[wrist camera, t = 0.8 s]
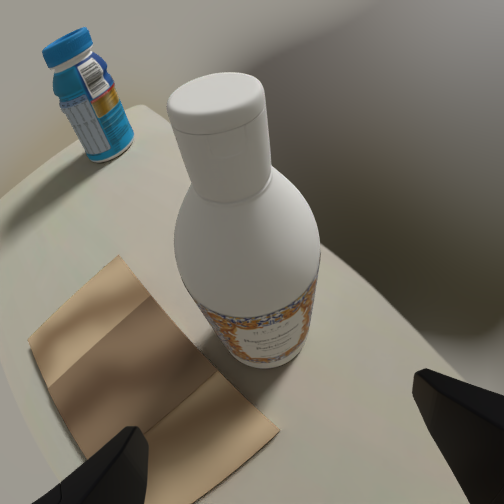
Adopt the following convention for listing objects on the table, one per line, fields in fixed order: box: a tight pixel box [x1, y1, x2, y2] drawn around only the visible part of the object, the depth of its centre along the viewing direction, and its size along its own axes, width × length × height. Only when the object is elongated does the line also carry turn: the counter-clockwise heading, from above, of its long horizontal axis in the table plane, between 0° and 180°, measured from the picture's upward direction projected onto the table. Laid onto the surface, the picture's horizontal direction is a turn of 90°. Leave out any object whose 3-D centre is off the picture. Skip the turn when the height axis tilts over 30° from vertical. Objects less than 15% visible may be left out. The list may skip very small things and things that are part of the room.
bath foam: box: [167, 72, 320, 368], centre depth 16 cm, size 7×7×20 cm
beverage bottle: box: [42, 27, 134, 163], centre depth 34 cm, size 8×8×20 cm
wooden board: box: [28, 255, 280, 504], centre depth 22 cm, size 22×14×1 cm, turn 44°
